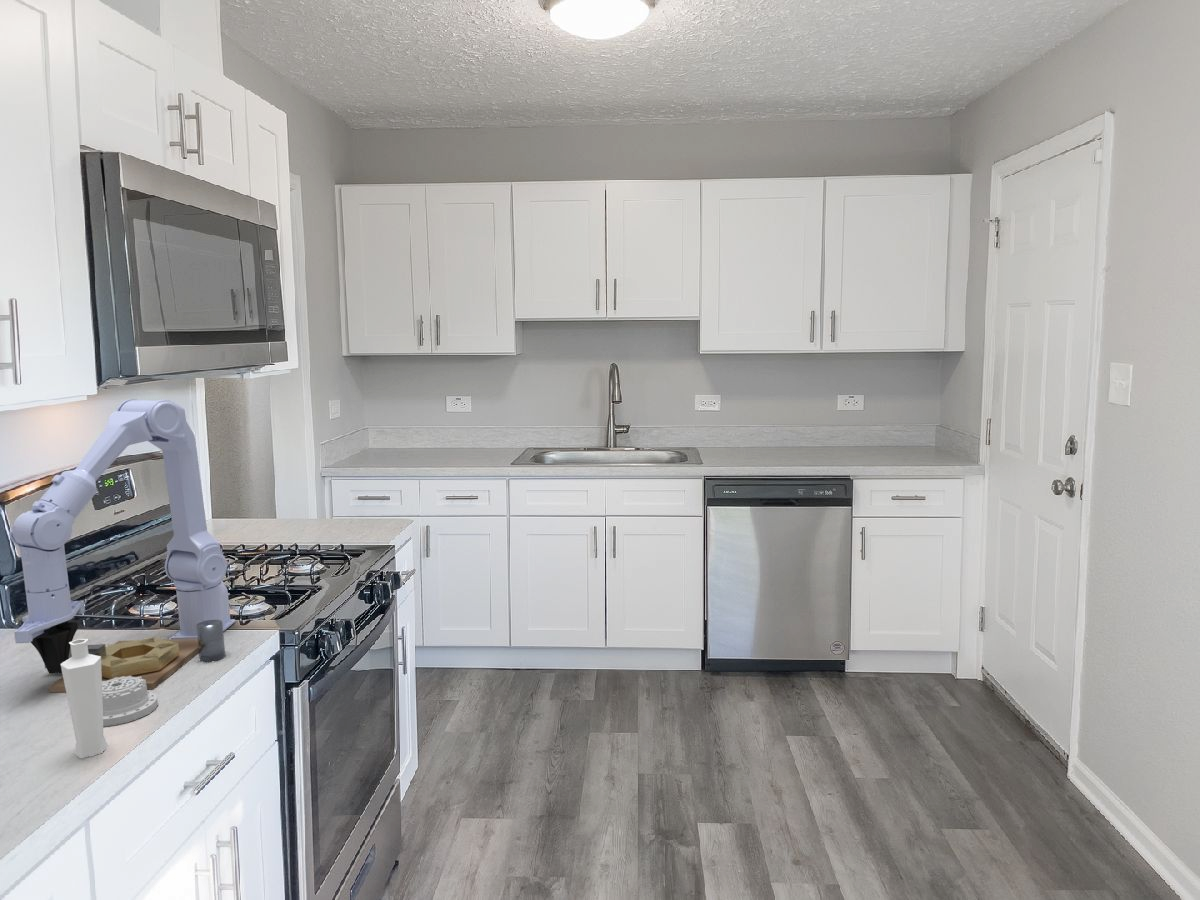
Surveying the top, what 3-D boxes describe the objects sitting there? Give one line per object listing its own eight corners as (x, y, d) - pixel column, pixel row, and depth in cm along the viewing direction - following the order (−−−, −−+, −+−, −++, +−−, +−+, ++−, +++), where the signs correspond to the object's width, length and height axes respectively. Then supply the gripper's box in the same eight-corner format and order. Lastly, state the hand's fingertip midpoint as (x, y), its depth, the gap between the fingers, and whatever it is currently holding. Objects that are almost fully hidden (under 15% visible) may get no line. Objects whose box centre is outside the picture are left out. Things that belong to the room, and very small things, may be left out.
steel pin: (206, 653, 152) (202, 620, 151) (229, 653, 152) (226, 619, 151) (195, 662, 148) (192, 627, 147) (219, 661, 148) (216, 627, 147)
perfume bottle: (117, 749, 117) (105, 640, 115) (80, 762, 114) (67, 649, 112) (104, 739, 120) (92, 632, 118) (68, 751, 117) (55, 642, 115)
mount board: (119, 646, 157) (118, 640, 157) (209, 643, 157) (209, 637, 156) (50, 692, 137) (49, 685, 137) (153, 689, 137) (152, 682, 137)
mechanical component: (91, 704, 132) (71, 733, 123) (88, 676, 132) (67, 702, 122) (164, 695, 135) (149, 722, 126) (161, 667, 134) (146, 693, 125)
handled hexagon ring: (188, 647, 151) (187, 630, 151) (149, 678, 138) (147, 659, 137) (72, 650, 151) (70, 634, 151) (22, 682, 138) (19, 663, 138)
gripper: (50, 575, 144) (60, 655, 146) (-11, 602, 130) (1, 691, 132) (93, 574, 144) (102, 654, 146) (37, 601, 130) (48, 689, 132)
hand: (57, 671), depth 139 cm, fingers closed
